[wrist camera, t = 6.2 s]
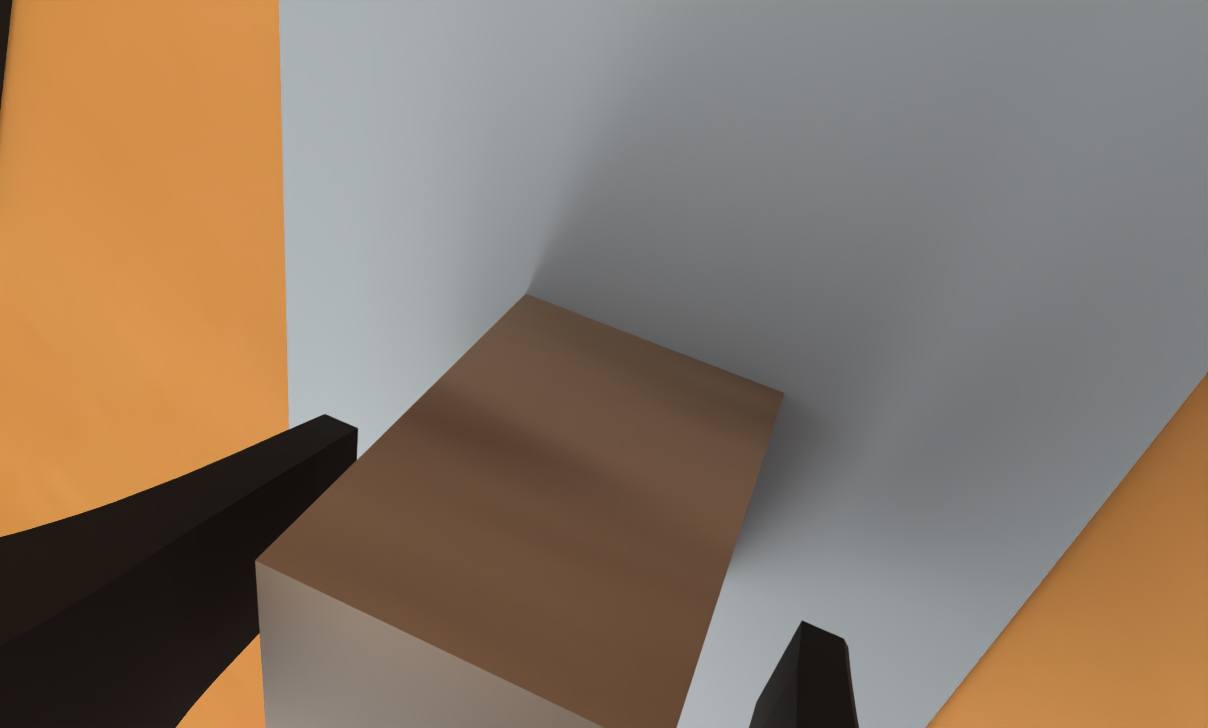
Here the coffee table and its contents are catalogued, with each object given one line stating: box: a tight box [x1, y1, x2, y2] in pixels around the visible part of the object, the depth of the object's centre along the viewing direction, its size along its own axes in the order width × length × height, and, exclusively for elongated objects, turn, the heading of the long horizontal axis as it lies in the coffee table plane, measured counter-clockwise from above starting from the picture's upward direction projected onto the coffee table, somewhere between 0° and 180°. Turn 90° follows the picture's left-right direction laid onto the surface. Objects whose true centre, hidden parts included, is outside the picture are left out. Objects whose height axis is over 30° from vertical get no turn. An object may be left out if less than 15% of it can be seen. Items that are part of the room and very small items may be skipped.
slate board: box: [279, 0, 1208, 728], centre depth 15 cm, size 18×14×1 cm
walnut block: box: [255, 294, 784, 728], centre depth 12 cm, size 4×4×6 cm
